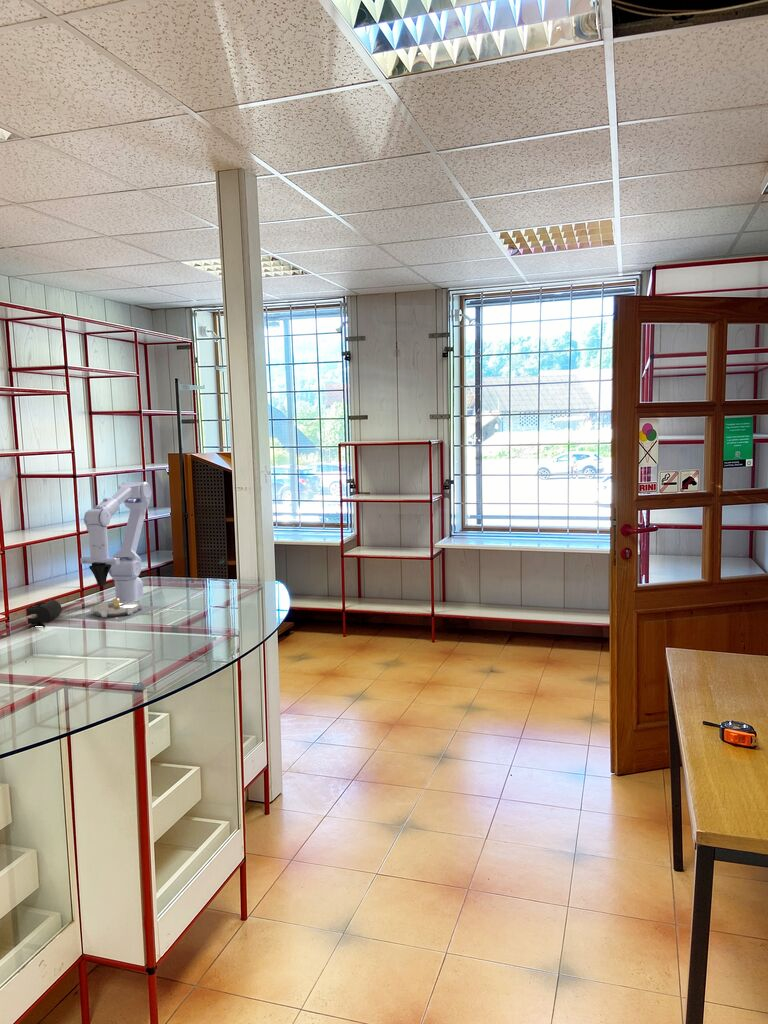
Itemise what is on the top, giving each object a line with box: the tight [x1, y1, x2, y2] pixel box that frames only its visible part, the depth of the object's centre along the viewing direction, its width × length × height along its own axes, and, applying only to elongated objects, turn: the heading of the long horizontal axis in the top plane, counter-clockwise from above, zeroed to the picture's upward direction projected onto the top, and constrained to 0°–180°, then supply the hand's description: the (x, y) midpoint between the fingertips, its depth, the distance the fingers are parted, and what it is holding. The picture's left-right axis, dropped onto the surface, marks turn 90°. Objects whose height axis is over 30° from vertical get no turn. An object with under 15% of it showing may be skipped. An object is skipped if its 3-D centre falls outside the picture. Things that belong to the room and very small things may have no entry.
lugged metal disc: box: [90, 597, 143, 617], centre depth 236 cm, size 14×16×5 cm
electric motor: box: [26, 599, 63, 628], centre depth 230 cm, size 10×7×7 cm
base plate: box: [70, 605, 161, 622], centre depth 237 cm, size 20×20×2 cm
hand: (101, 585), depth 241 cm, fingers closed
